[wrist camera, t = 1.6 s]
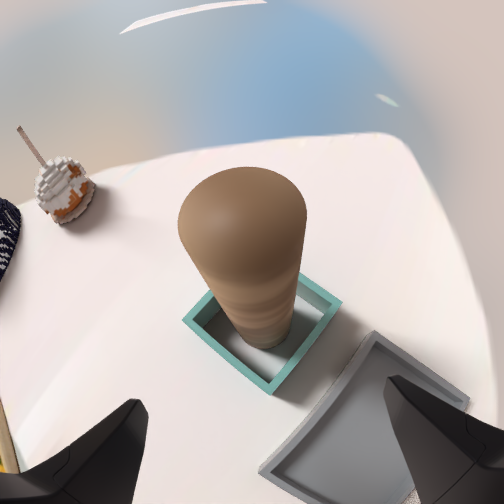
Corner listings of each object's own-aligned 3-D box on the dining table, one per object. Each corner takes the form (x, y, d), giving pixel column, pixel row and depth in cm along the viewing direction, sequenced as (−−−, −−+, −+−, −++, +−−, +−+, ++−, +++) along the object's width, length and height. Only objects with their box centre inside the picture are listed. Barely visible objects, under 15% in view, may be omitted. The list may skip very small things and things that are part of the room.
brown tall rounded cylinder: (267, 359, 21) (247, 300, 8) (226, 326, 22) (153, 224, 9) (300, 318, 22) (331, 202, 9) (260, 288, 24) (236, 152, 11)
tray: (366, 523, 12) (372, 532, 10) (259, 466, 16) (258, 473, 14) (458, 399, 16) (470, 397, 14) (366, 335, 21) (374, 329, 19)
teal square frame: (271, 394, 19) (269, 395, 17) (192, 329, 22) (181, 319, 20) (335, 313, 22) (342, 302, 19) (257, 258, 25) (254, 241, 23)
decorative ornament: (104, 195, 32) (48, 108, 19) (64, 235, 29) (-5, 159, 16) (85, 175, 35) (38, 102, 22) (50, 210, 32) (-6, 143, 19)
